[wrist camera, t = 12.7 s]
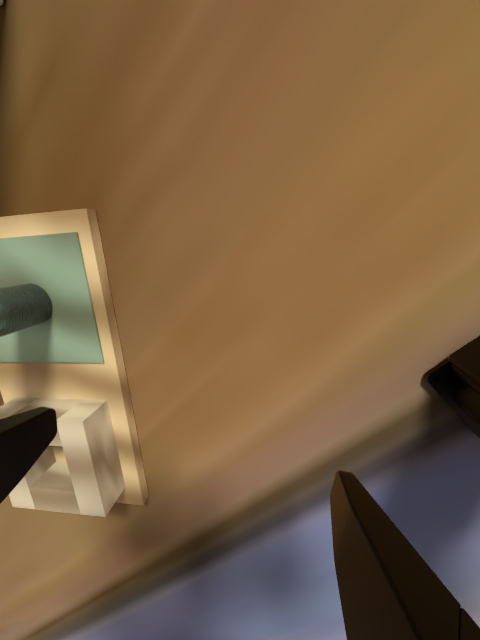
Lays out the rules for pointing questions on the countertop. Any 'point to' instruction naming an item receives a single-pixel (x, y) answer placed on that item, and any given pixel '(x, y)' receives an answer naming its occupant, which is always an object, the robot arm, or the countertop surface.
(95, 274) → the board
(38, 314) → the key rod
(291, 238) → the countertop surface
